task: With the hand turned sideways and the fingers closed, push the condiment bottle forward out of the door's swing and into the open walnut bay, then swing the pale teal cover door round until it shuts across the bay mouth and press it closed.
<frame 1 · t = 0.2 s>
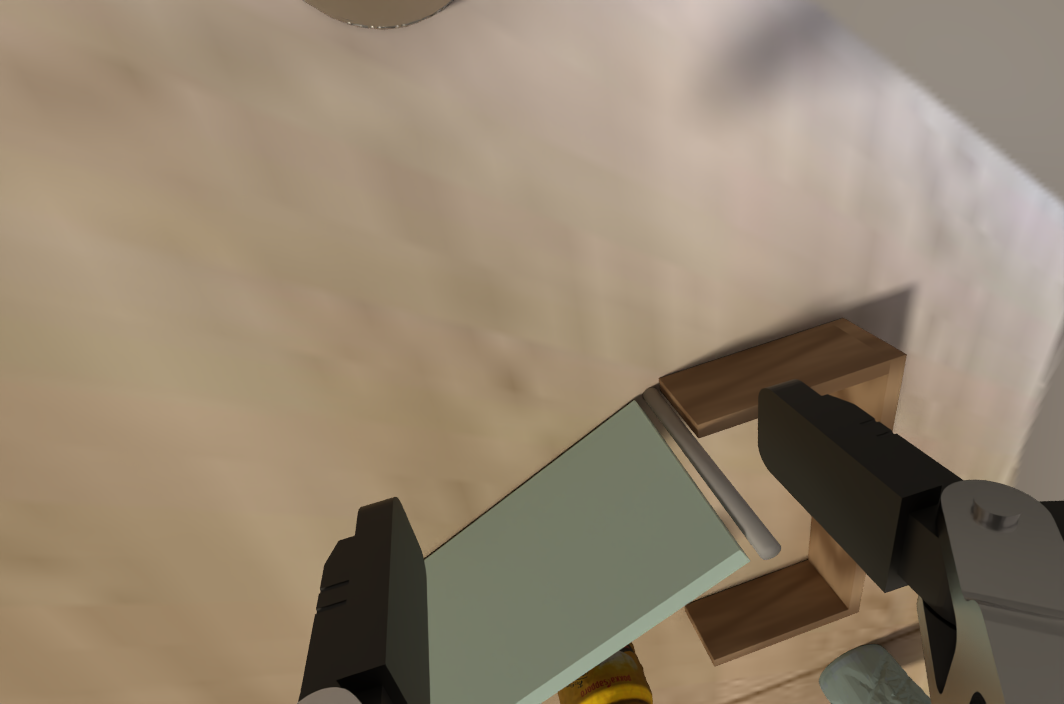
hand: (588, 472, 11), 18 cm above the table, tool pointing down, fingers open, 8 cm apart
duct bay: (746, 489, 41), on the table
cover door: (545, 569, 30), point 6 cm above the table, hinge at 65.0°
condiment: (575, 596, 43), on the table
blue-grey cup: (849, 667, 60), on the table
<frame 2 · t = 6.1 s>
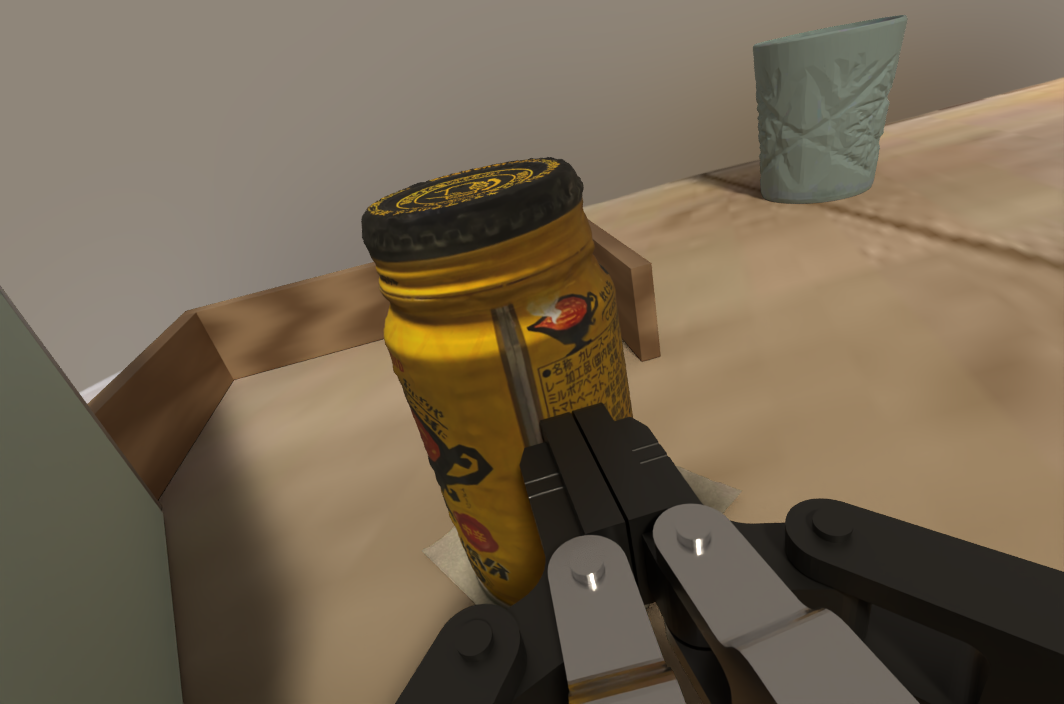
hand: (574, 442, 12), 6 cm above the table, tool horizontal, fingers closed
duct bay: (409, 371, 31), on the table
cover door: (21, 550, 13), point 6 cm above the table, hinge at 65.0°
condiment: (580, 531, 18), on the table, touching gripper
blue-grey cup: (817, 190, 45), on the table
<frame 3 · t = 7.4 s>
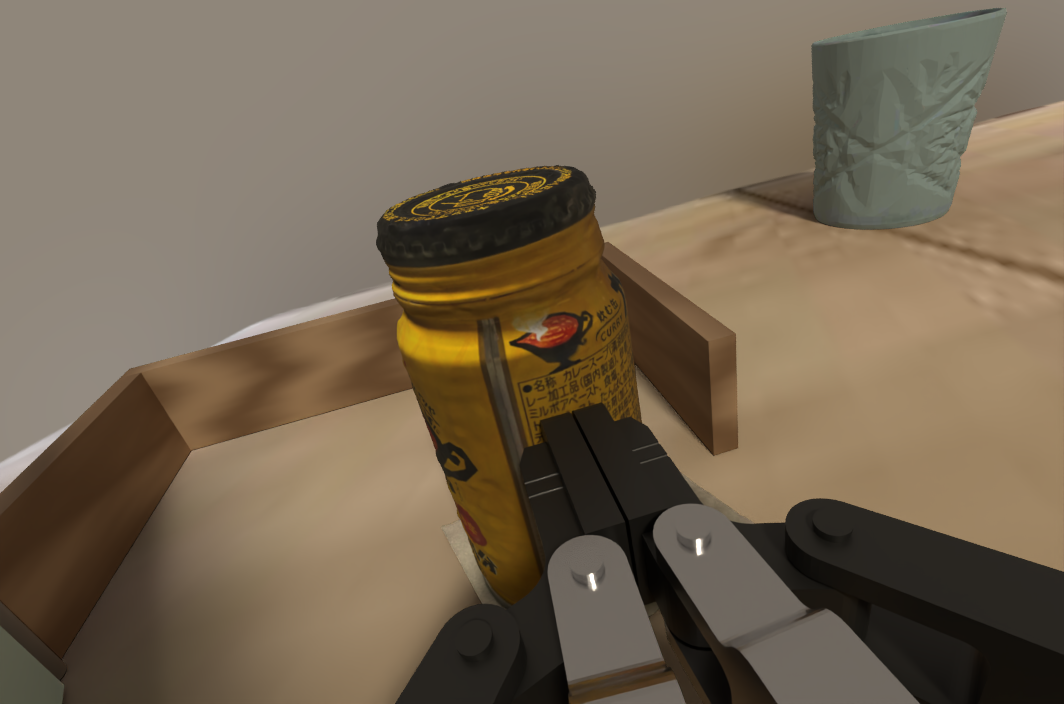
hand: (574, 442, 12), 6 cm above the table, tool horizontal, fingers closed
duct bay: (407, 452, 24), on the table
condiment: (591, 538, 18), on the table, touching gripper
blue-grey cup: (881, 212, 39), on the table
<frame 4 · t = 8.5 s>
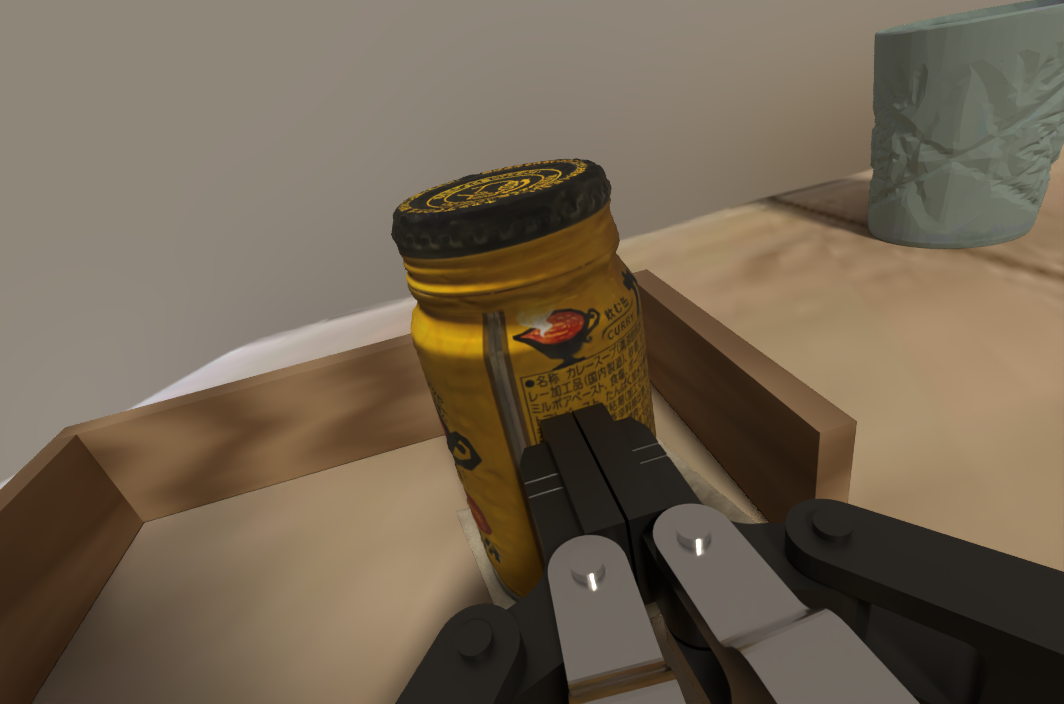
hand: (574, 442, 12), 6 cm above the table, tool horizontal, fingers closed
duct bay: (405, 540, 19), on the table
condiment: (602, 535, 18), on the table, touching gripper
blue-grey cup: (948, 228, 34), on the table
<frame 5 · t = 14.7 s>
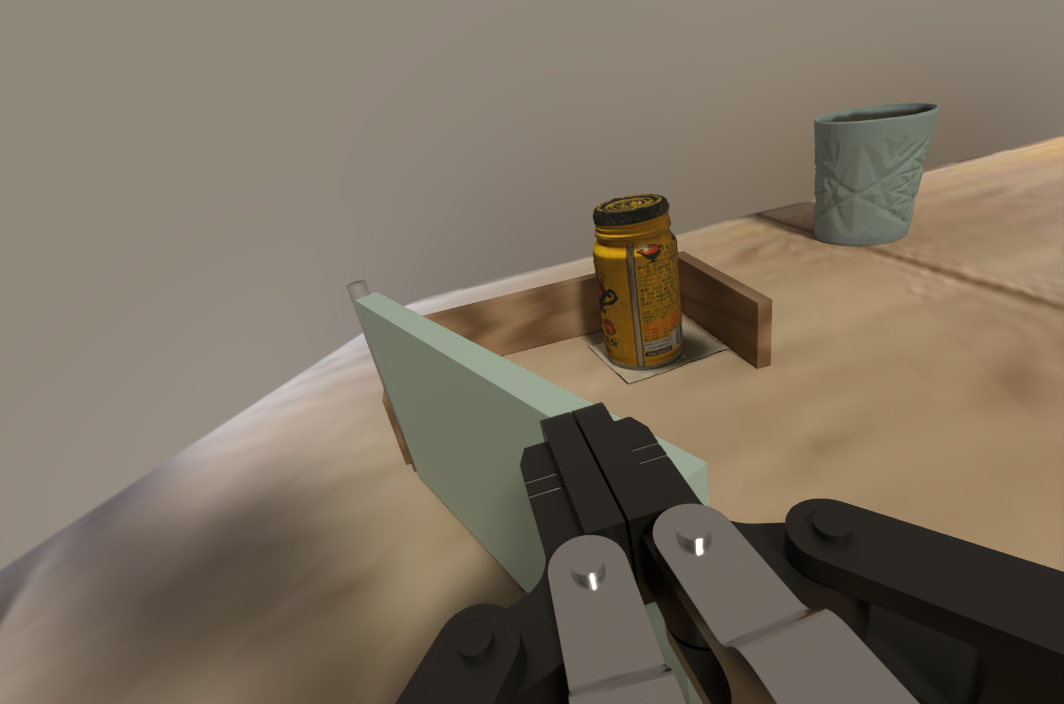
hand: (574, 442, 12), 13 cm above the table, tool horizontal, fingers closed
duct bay: (571, 373, 41), on the table
cover door: (485, 462, 23), point 6 cm above the table, hinge at 64.9°, touching gripper
condiment: (655, 352, 42), on the table
blue-grey cup: (861, 234, 56), on the table
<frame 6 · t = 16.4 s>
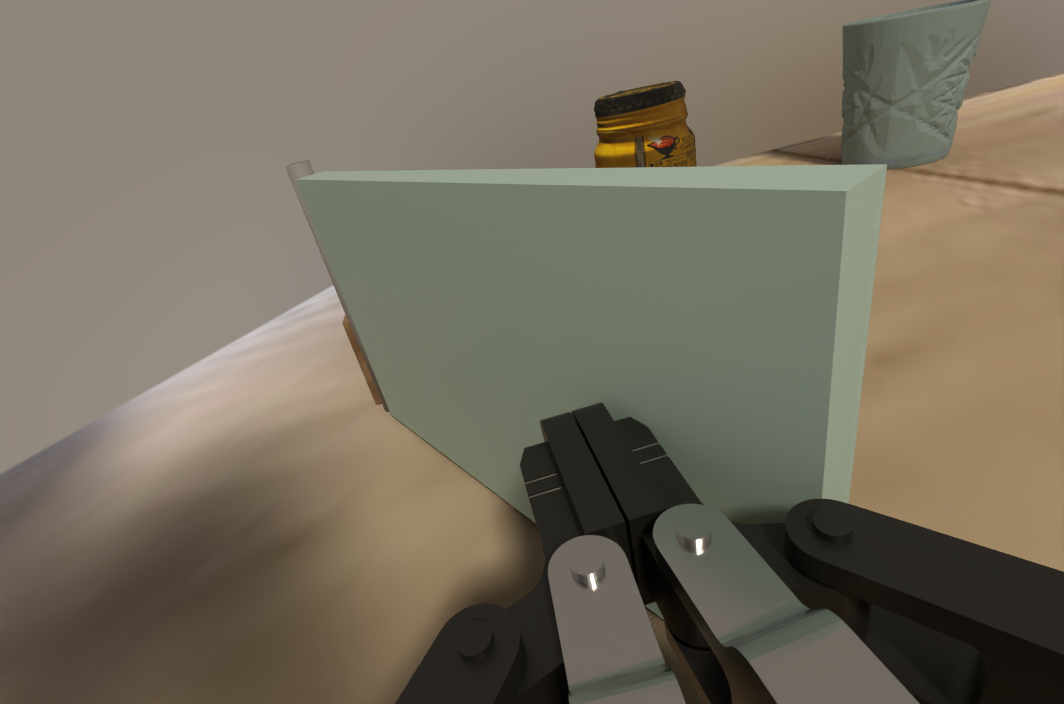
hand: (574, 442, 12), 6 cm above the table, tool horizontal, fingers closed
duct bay: (572, 304, 35), on the table
cover door: (476, 354, 17), point 6 cm above the table, hinge at 61.1°, touching gripper
condiment: (669, 279, 36), on the table
blue-grey cup: (895, 159, 50), on the table
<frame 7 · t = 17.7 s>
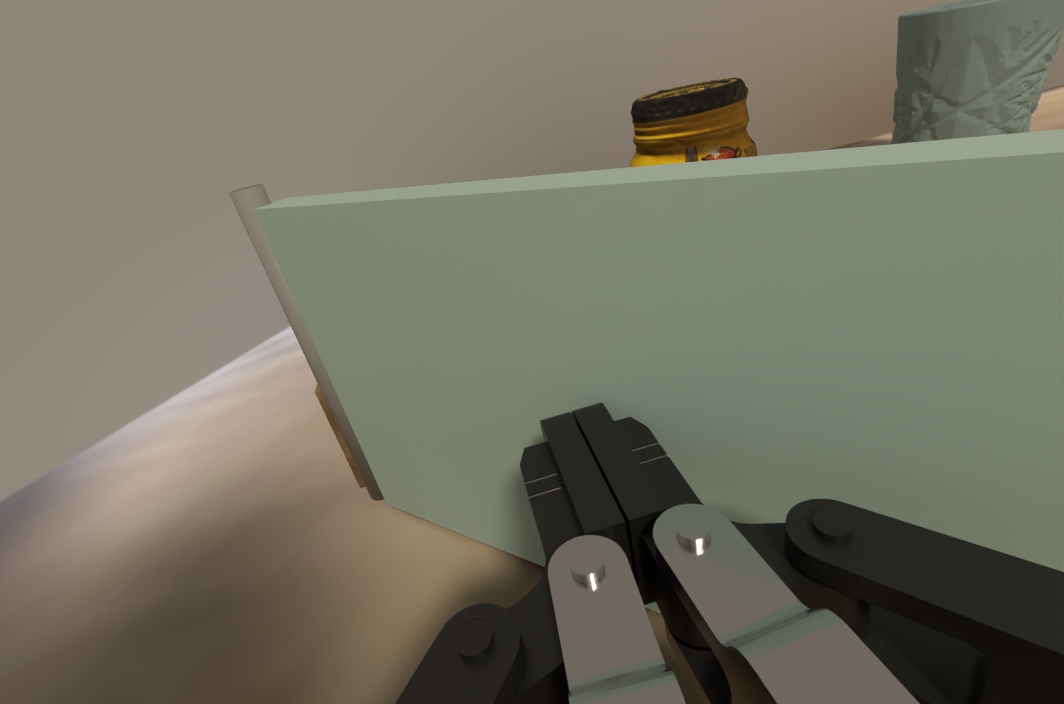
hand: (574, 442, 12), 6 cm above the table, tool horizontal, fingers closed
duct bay: (599, 347, 29), on the table
cover door: (585, 416, 13), point 6 cm above the table, hinge at 44.7°, touching gripper
condiment: (714, 316, 30), on the table
blue-grey cup: (953, 168, 44), on the table
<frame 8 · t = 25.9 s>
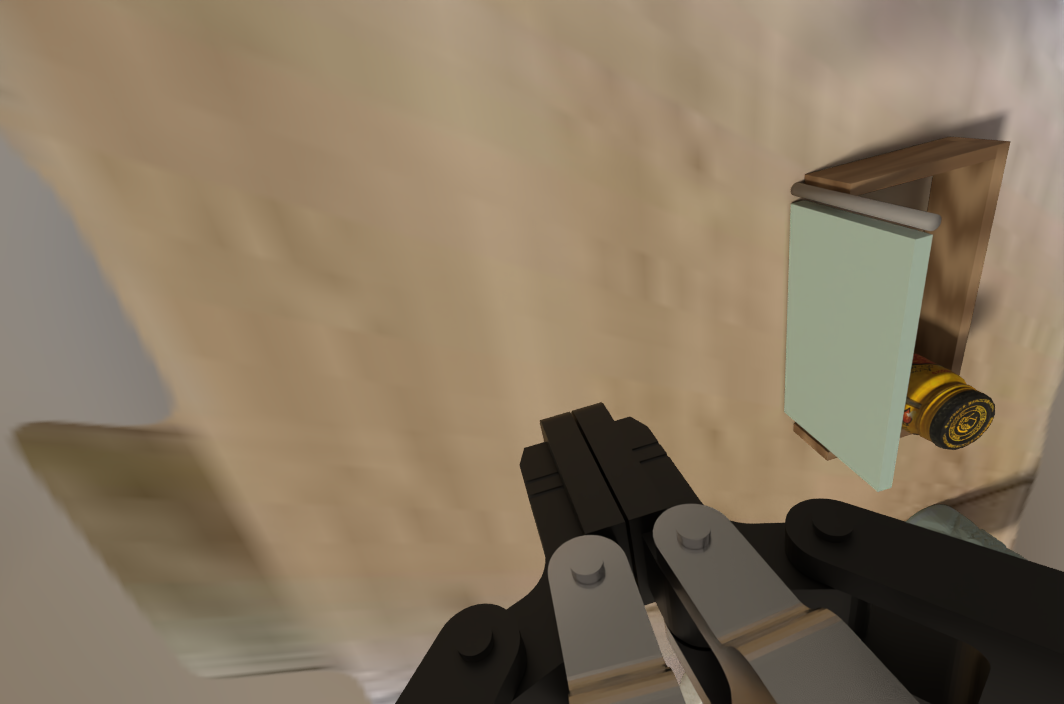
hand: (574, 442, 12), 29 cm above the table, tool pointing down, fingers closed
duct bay: (857, 301, 49), on the table
cover door: (842, 337, 42), point 6 cm above the table, hinge at -0.1°
condiment: (851, 364, 52), on the table
cereal bowl: (721, 655, 70), on the table
blue-grey cup: (922, 530, 67), on the table
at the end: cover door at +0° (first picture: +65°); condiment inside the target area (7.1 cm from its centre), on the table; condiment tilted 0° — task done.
